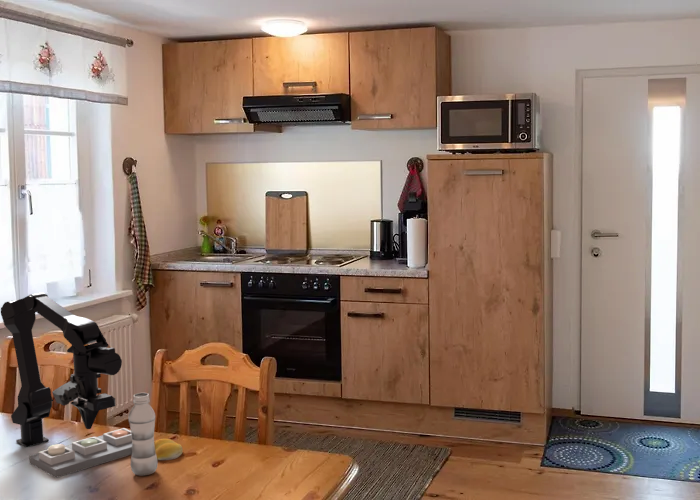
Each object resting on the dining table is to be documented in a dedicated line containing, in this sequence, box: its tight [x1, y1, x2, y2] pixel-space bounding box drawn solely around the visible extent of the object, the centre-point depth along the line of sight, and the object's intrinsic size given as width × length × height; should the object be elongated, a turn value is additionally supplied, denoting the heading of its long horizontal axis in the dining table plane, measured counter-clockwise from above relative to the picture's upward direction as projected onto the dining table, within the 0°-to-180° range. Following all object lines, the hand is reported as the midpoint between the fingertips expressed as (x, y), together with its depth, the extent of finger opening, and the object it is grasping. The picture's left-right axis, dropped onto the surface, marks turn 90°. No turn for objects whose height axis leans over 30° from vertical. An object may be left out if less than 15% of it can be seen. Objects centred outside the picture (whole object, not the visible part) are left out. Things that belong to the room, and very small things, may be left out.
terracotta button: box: [112, 430, 128, 438], centre depth 224 cm, size 4×4×2 cm
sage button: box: [81, 438, 97, 447], centre depth 217 cm, size 4×4×2 cm
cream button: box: [47, 443, 66, 456], centre depth 210 cm, size 4×4×2 cm
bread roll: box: [154, 438, 184, 461], centre depth 218 cm, size 8×9×4 cm
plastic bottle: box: [128, 392, 159, 477], centre depth 204 cm, size 6×7×20 cm
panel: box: [28, 427, 132, 478], centre depth 217 cm, size 14×26×4 cm, turn 136°
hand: (88, 428), depth 217 cm, fingers closed
